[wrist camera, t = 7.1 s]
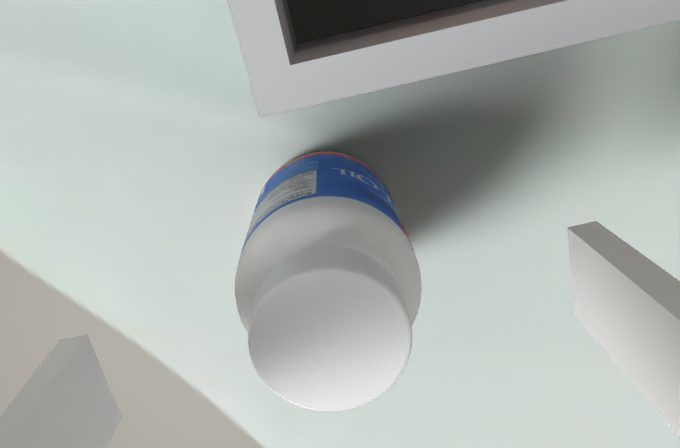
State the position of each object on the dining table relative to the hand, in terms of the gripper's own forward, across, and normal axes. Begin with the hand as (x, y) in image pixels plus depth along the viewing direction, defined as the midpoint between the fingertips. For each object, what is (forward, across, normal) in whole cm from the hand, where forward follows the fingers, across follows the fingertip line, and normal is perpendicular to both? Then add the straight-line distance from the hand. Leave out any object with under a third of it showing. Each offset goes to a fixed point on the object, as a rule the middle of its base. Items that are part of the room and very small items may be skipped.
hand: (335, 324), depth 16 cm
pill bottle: (+8, 0, 0) cm, 8 cm away
